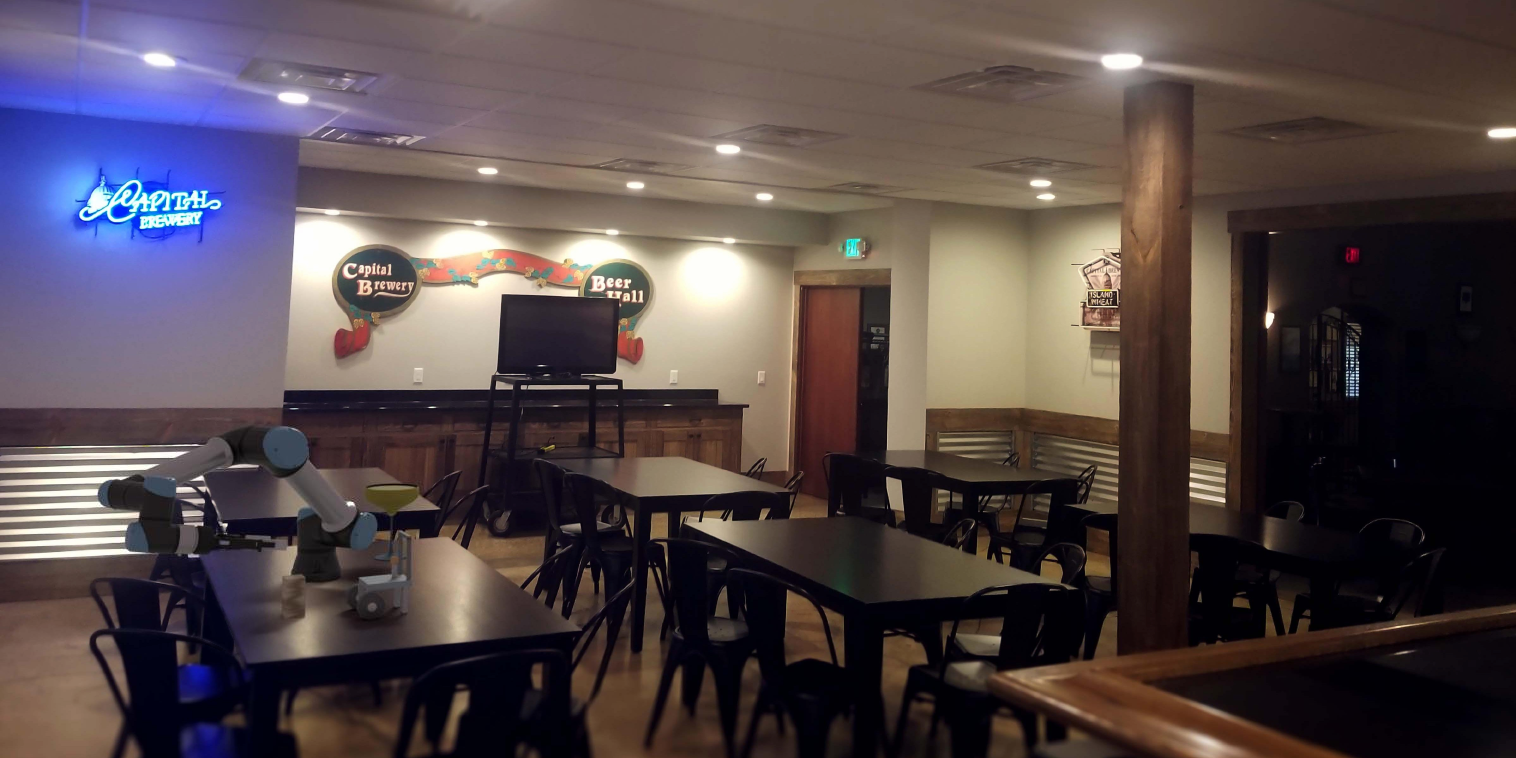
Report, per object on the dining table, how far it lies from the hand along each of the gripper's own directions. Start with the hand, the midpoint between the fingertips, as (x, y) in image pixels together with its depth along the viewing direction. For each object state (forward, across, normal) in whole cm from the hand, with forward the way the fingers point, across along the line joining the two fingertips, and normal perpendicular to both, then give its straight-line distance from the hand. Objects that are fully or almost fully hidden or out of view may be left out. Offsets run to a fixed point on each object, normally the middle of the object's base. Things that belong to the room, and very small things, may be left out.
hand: (278, 543), depth 296 cm
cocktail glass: (+60, -61, -8) cm, 86 cm away
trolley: (+27, +8, -18) cm, 33 cm away
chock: (+7, -2, -20) cm, 21 cm away
